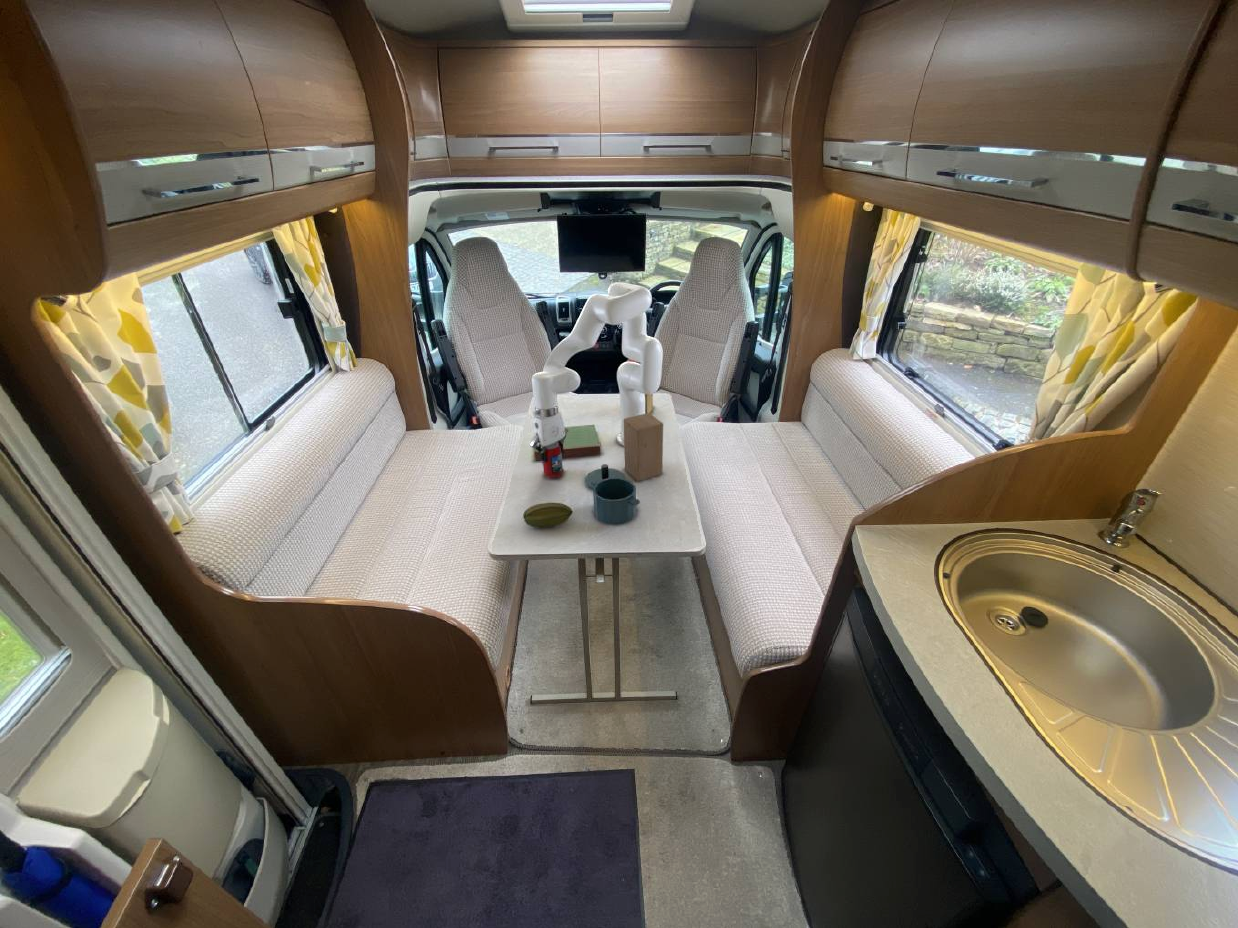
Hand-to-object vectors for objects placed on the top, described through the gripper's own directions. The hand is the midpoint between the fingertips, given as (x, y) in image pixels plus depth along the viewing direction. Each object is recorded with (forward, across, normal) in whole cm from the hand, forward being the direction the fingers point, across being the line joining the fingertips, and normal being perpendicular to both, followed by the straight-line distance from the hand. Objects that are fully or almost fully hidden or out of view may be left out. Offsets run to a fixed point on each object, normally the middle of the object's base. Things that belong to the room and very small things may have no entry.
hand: (551, 456), depth 173 cm
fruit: (+7, -20, -21) cm, 30 cm away
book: (+7, +18, +12) cm, 23 cm away
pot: (+7, -2, -32) cm, 33 cm away
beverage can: (+7, 0, 0) cm, 7 cm away
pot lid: (+7, +9, -17) cm, 20 cm away
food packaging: (+8, +60, +12) cm, 62 cm away
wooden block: (+8, +22, -23) cm, 33 cm away
